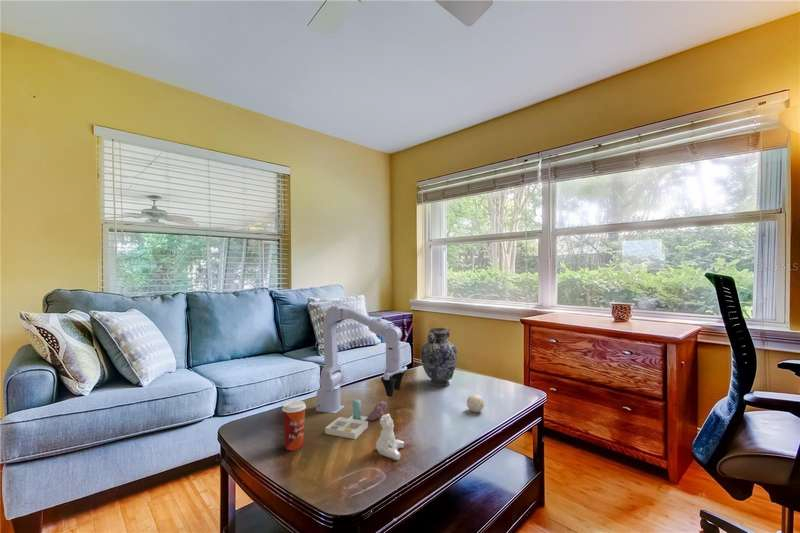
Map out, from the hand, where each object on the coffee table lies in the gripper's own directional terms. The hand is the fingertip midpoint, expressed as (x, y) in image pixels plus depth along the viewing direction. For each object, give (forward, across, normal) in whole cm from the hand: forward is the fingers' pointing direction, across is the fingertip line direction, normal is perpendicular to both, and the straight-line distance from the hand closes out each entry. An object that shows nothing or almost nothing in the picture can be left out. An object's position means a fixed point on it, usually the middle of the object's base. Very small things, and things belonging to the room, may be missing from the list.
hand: (393, 392), depth 137 cm
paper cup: (+10, -31, +23) cm, 40 cm away
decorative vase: (+10, +48, -6) cm, 49 cm away
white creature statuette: (+10, -24, -8) cm, 27 cm away
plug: (+10, -6, +13) cm, 17 cm away
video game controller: (+10, 0, +7) cm, 12 cm away
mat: (+10, -6, +13) cm, 18 cm away
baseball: (+10, +18, -29) cm, 36 cm away
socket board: (+10, -16, +12) cm, 22 cm away
